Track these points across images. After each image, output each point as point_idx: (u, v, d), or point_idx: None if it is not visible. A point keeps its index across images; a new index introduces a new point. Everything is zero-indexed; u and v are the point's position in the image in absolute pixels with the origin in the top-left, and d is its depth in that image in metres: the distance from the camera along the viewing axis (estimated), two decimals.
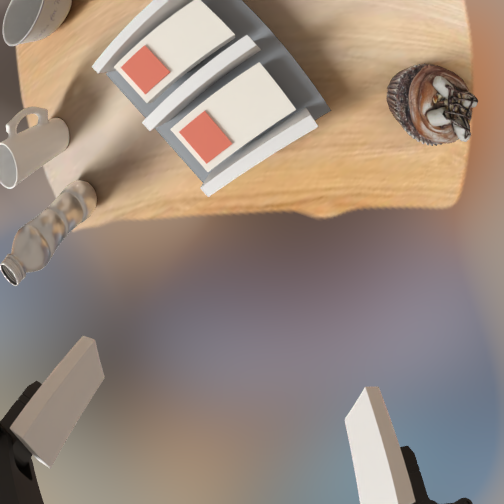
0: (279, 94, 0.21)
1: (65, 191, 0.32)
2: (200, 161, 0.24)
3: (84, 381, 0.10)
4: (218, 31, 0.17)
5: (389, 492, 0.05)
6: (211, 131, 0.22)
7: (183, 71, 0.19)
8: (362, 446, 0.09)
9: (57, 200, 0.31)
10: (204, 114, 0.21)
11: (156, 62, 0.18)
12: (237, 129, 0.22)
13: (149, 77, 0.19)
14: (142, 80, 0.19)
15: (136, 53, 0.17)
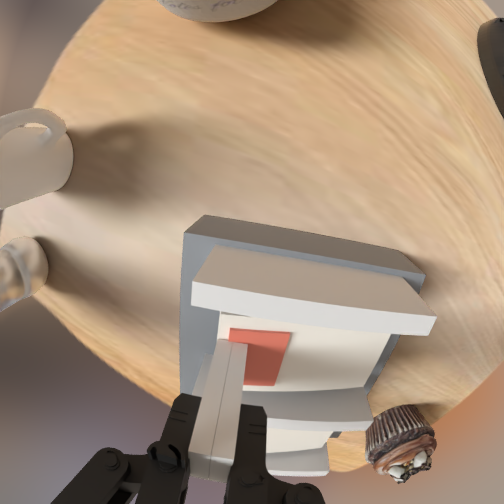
0: (324, 437, 0.18)
1: (15, 256, 0.18)
2: None
3: None
4: (359, 376, 0.15)
5: None
6: None
7: None
8: None
9: None
10: None
11: (274, 363, 0.14)
12: (266, 445, 0.18)
13: (246, 371, 0.14)
14: None
15: (269, 335, 0.13)
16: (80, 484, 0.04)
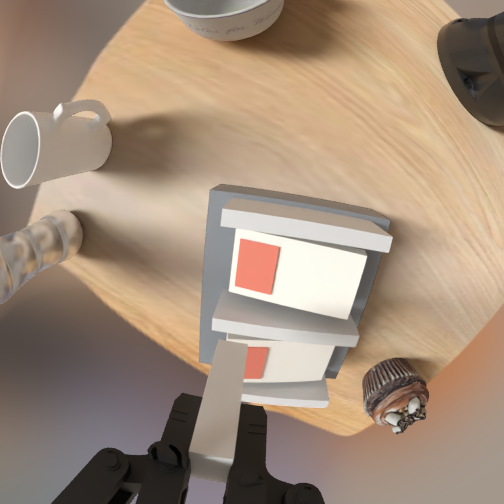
0: (322, 367, 0.24)
1: (56, 223, 0.25)
2: None
3: None
4: (341, 305, 0.20)
5: None
6: (256, 364, 0.23)
7: None
8: None
9: (43, 232, 0.23)
10: (264, 350, 0.23)
11: (270, 273, 0.21)
12: (274, 372, 0.24)
13: (251, 277, 0.21)
14: (244, 271, 0.21)
15: (265, 246, 0.20)
16: (80, 484, 0.04)
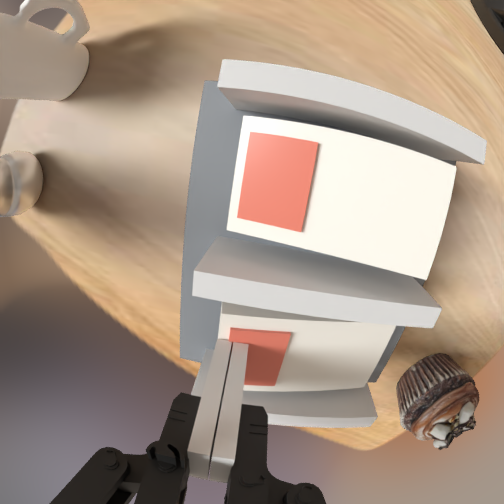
0: (370, 367, 0.15)
1: (9, 162, 0.15)
2: None
3: None
4: (419, 253, 0.11)
5: (215, 441, 0.08)
6: (269, 361, 0.14)
7: None
8: None
9: None
10: (285, 338, 0.13)
11: (302, 192, 0.11)
12: (296, 375, 0.14)
13: (267, 201, 0.12)
14: (256, 191, 0.12)
15: (293, 141, 0.11)
16: (79, 484, 0.04)
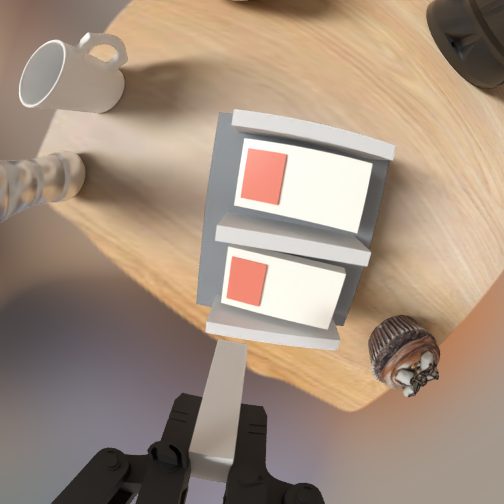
0: (329, 309, 0.22)
1: (61, 158, 0.24)
2: (224, 291, 0.24)
3: None
4: (350, 216, 0.20)
5: None
6: (254, 284, 0.23)
7: (287, 215, 0.21)
8: None
9: (47, 163, 0.21)
10: (263, 267, 0.22)
11: (277, 182, 0.20)
12: (273, 301, 0.23)
13: (258, 187, 0.21)
14: (251, 182, 0.21)
15: (272, 153, 0.20)
16: (80, 484, 0.04)
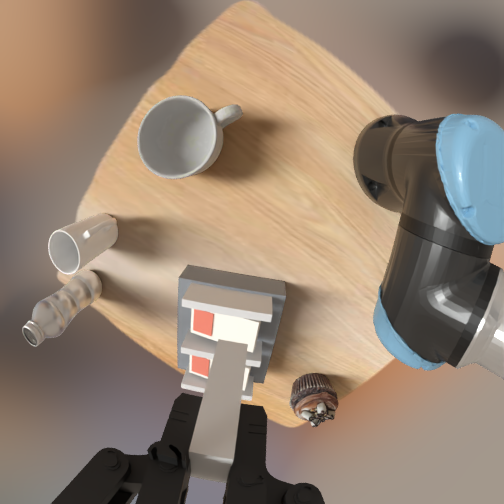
0: (243, 382, 0.40)
1: (85, 282, 0.41)
2: (190, 367, 0.42)
3: None
4: (248, 345, 0.37)
5: None
6: (204, 367, 0.41)
7: None
8: None
9: (79, 290, 0.39)
10: (207, 361, 0.40)
11: (210, 325, 0.38)
12: None
13: (201, 326, 0.39)
14: (197, 323, 0.39)
15: (206, 313, 0.37)
16: (80, 484, 0.04)
